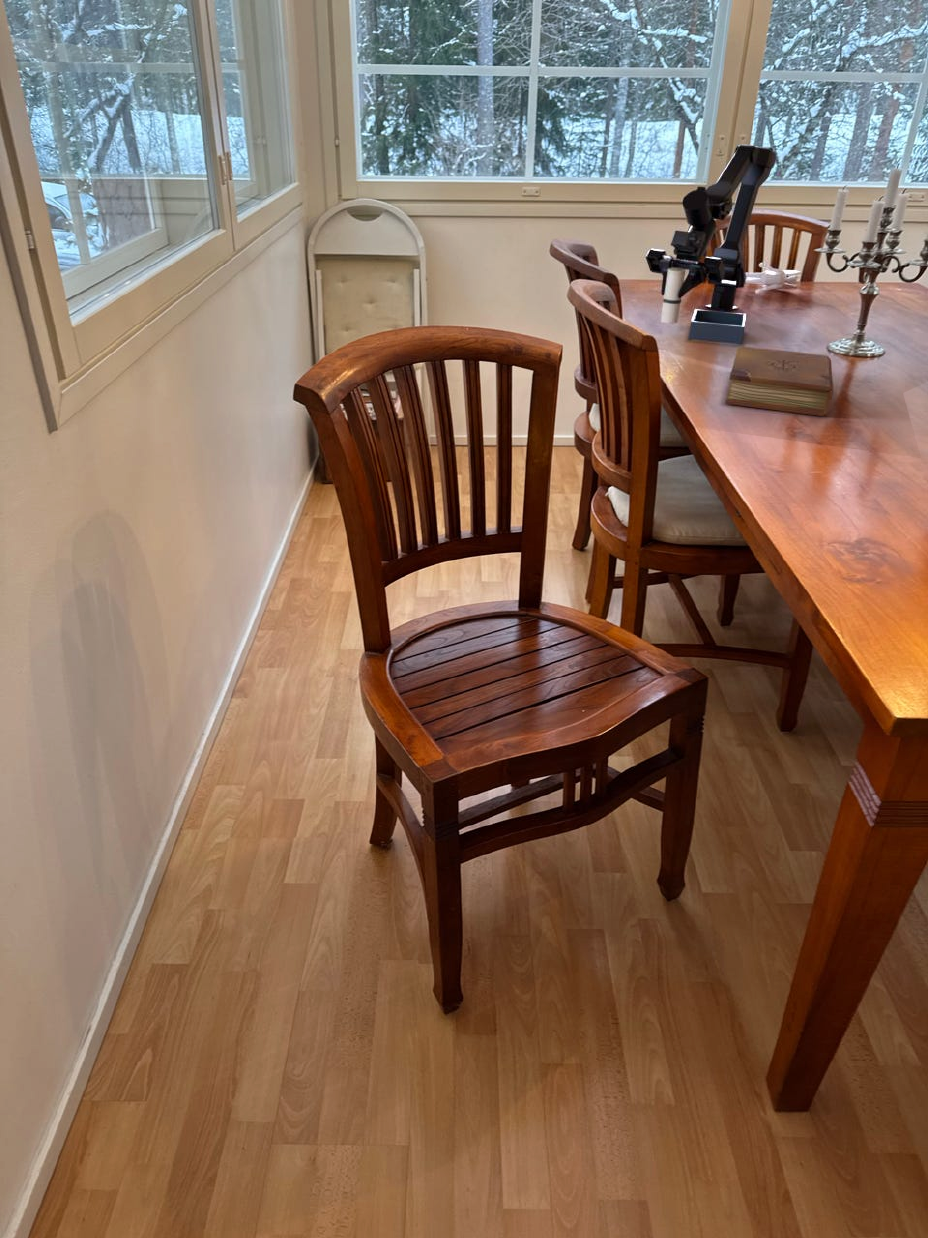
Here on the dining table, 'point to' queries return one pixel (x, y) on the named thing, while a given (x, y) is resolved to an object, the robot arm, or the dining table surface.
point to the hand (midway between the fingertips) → (670, 295)
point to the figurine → (773, 279)
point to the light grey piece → (672, 295)
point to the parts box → (717, 326)
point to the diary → (781, 381)
